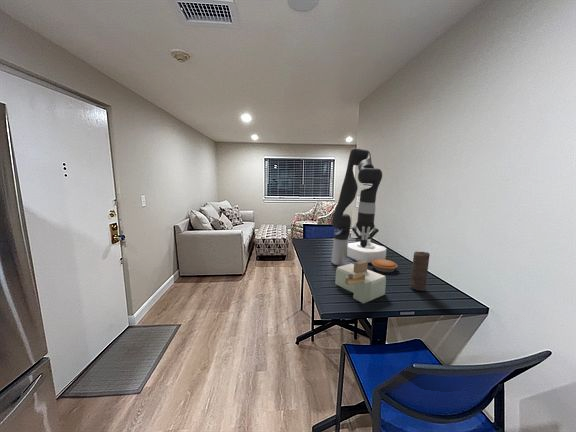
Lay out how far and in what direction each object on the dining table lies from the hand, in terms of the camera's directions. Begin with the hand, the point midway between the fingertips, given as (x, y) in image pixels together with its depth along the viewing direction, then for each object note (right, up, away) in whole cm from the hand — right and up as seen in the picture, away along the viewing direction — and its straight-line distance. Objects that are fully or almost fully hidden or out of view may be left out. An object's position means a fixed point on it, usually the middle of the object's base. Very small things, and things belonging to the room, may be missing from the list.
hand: (363, 247), depth 122 cm
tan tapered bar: (-6, -15, -7) cm, 17 cm away
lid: (+1, -15, +8) cm, 17 cm away
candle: (+32, -24, +11) cm, 41 cm away
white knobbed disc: (+20, -15, +64) cm, 68 cm away
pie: (+25, -19, +39) cm, 50 cm away
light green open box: (-1, -23, +8) cm, 24 cm away
